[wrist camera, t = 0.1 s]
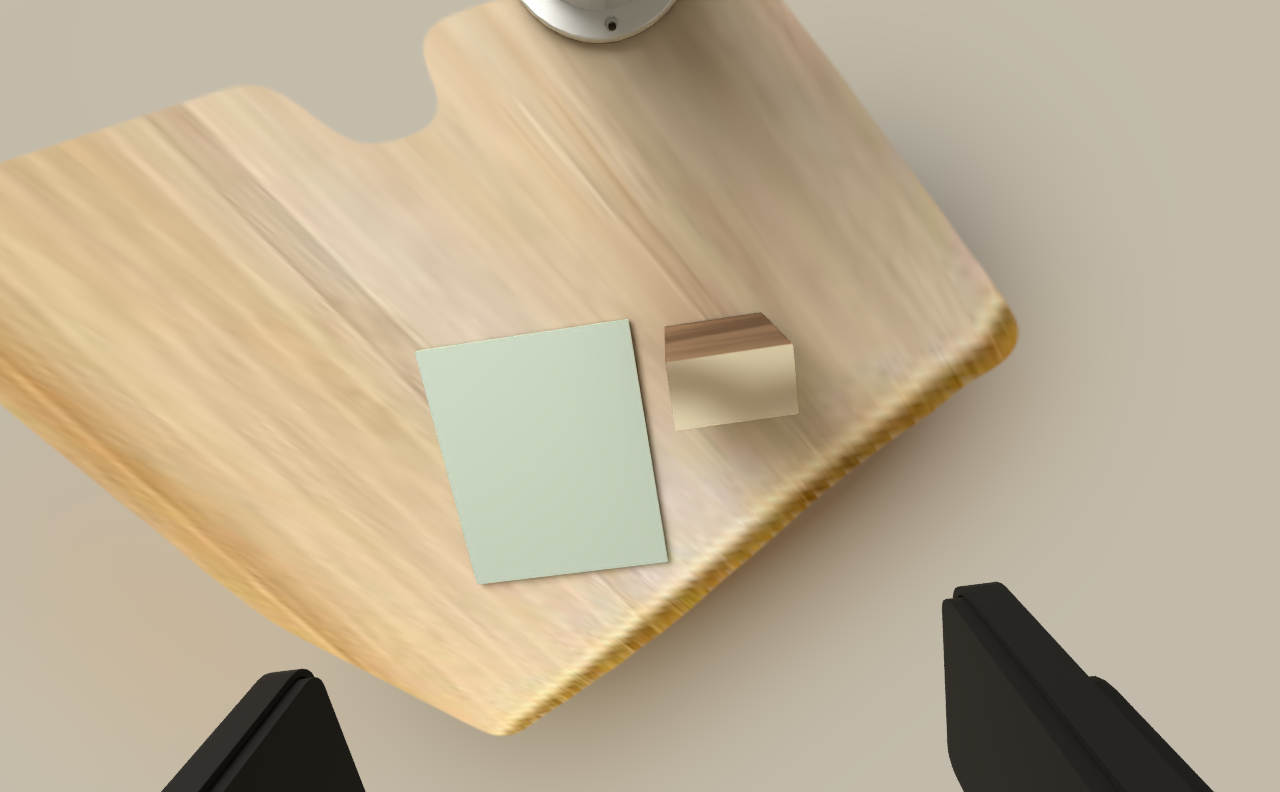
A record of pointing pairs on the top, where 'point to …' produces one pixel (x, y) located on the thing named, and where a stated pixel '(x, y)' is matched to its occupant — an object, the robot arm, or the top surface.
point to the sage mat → (547, 451)
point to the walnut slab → (729, 371)
